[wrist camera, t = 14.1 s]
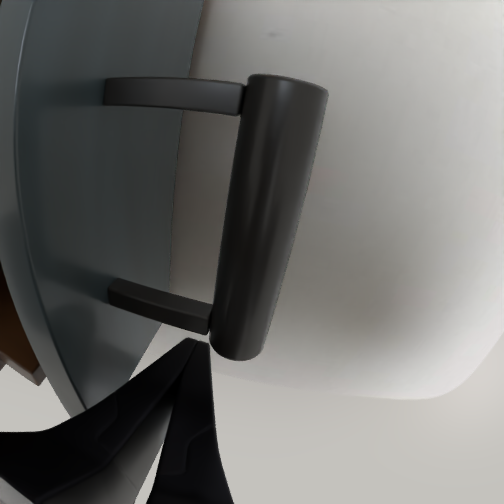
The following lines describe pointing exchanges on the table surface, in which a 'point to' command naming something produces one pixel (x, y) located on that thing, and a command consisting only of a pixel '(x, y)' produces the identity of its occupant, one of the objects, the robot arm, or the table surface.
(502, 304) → the table surface
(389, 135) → the table surface
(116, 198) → the drawer
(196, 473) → the robot arm
